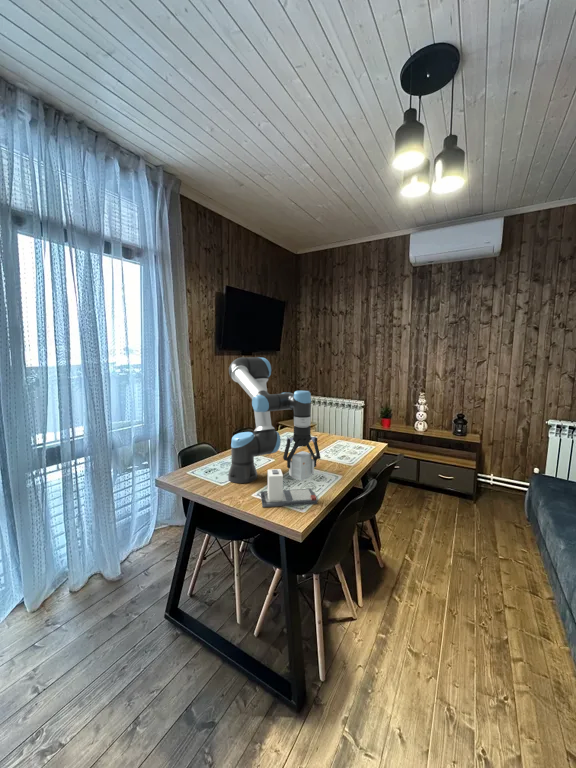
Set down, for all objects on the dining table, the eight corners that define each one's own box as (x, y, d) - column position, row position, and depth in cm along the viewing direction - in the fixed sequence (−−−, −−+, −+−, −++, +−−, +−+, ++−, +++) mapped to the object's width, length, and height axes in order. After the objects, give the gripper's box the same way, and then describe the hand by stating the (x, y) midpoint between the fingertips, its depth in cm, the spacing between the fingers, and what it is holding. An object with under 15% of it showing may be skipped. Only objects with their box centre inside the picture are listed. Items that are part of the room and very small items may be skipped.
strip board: (262, 507, 131) (262, 502, 131) (260, 494, 143) (260, 489, 143) (317, 503, 135) (317, 498, 135) (311, 491, 147) (311, 486, 146)
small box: (301, 472, 143) (302, 450, 142) (311, 475, 140) (312, 453, 139) (291, 477, 137) (291, 454, 136) (301, 481, 134) (301, 457, 133)
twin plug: (269, 500, 133) (269, 475, 132) (267, 492, 141) (267, 468, 140) (282, 500, 134) (283, 474, 133) (280, 491, 142) (280, 467, 141)
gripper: (278, 428, 131) (278, 479, 133) (328, 426, 134) (327, 476, 137) (276, 424, 138) (276, 472, 141) (323, 423, 142) (323, 470, 144)
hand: (301, 474), depth 139 cm, fingers closed on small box, 9 cm apart
